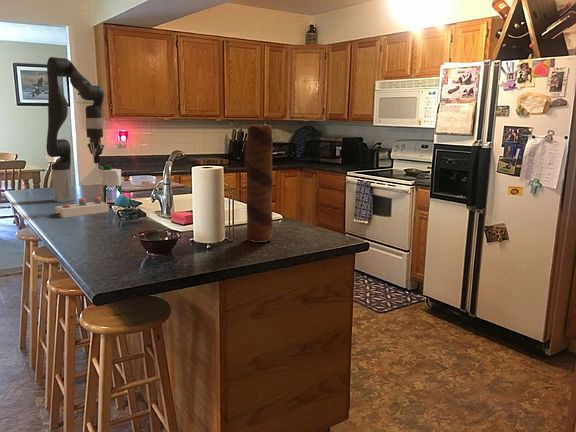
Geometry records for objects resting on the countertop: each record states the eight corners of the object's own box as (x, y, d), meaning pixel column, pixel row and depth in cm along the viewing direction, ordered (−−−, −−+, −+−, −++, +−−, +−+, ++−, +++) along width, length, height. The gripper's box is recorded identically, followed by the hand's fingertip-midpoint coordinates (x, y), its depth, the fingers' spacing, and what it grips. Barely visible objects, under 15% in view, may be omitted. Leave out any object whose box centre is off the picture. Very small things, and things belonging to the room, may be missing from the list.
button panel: (47, 215, 224) (46, 206, 223) (101, 209, 243) (100, 200, 242) (54, 219, 218) (53, 209, 217) (109, 211, 236) (108, 202, 235)
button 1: (62, 210, 226) (61, 204, 225) (68, 209, 228) (68, 204, 228) (64, 211, 224) (64, 205, 223) (71, 210, 226) (71, 205, 226)
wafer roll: (248, 244, 182) (249, 124, 173) (243, 238, 192) (244, 124, 183) (275, 243, 185) (277, 125, 176) (269, 236, 195) (270, 124, 186)
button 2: (78, 204, 231) (77, 198, 230) (84, 203, 233) (83, 198, 232) (80, 205, 229) (80, 199, 228) (86, 204, 231) (86, 199, 230)
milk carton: (108, 200, 265) (106, 164, 261) (124, 201, 265) (122, 165, 261) (101, 203, 257) (99, 166, 253) (118, 204, 257) (116, 166, 252)
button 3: (93, 202, 236) (93, 197, 236) (99, 201, 238) (99, 196, 238) (96, 203, 234) (95, 198, 234) (102, 202, 236) (101, 197, 236)
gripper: (80, 127, 235) (83, 162, 238) (93, 128, 226) (95, 164, 230) (95, 127, 240) (97, 161, 244) (108, 128, 231) (110, 163, 235)
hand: (96, 163), depth 237 cm, fingers closed
